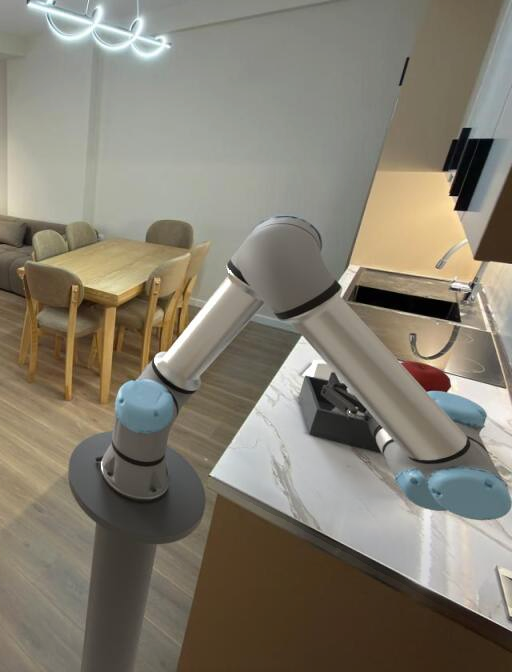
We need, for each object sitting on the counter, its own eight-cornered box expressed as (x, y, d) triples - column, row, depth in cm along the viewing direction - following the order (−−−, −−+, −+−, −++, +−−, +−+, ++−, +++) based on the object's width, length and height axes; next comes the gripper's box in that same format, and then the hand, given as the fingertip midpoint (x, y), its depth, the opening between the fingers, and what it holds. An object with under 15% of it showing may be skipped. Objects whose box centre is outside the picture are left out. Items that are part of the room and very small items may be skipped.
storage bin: (309, 434, 103) (317, 409, 100) (298, 397, 117) (305, 375, 114) (398, 457, 95) (410, 431, 92) (375, 415, 109) (384, 391, 106)
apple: (442, 406, 113) (461, 366, 108) (434, 422, 106) (453, 380, 102) (386, 386, 122) (401, 348, 117) (375, 400, 115) (391, 361, 111)
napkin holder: (301, 375, 128) (305, 360, 126) (311, 363, 134) (315, 349, 132) (361, 397, 117) (367, 380, 115) (368, 382, 124) (374, 367, 122)
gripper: (317, 434, 85) (300, 383, 103) (480, 475, 74) (430, 411, 92) (327, 405, 82) (307, 358, 100) (497, 444, 72) (442, 384, 89)
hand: (366, 383), depth 96 cm, fingers open, 13 cm apart
